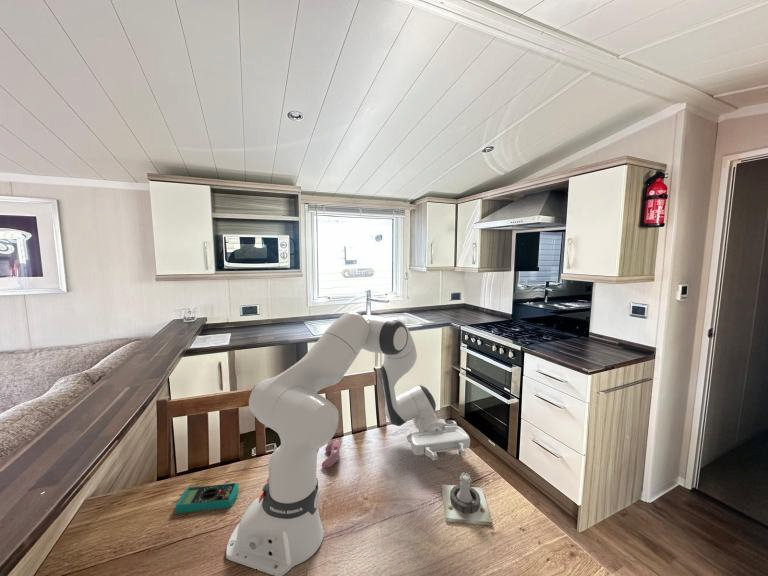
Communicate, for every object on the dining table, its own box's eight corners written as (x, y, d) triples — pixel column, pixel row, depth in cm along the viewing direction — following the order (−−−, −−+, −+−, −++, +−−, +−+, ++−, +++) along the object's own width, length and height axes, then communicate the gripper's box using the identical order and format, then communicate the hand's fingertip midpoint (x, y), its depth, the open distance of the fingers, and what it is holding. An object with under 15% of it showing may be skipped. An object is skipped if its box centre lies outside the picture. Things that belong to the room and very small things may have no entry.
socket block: (445, 521, 83) (445, 511, 82) (441, 487, 95) (441, 478, 94) (491, 525, 82) (492, 515, 81) (481, 490, 94) (482, 481, 93)
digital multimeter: (232, 509, 86) (232, 499, 86) (174, 515, 84) (173, 506, 83) (240, 489, 93) (240, 480, 93) (186, 495, 91) (186, 485, 90)
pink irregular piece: (332, 473, 102) (342, 455, 101) (320, 468, 102) (329, 450, 101) (336, 454, 112) (344, 437, 111) (324, 449, 111) (333, 432, 111)
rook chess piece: (453, 502, 88) (454, 476, 87) (461, 493, 91) (462, 468, 90) (467, 511, 85) (469, 484, 84) (475, 502, 88) (476, 475, 87)
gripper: (405, 426, 109) (418, 451, 96) (459, 420, 113) (478, 443, 100) (405, 443, 110) (417, 470, 96) (458, 436, 114) (477, 461, 101)
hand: (449, 456), depth 98 cm, fingers open, 8 cm apart
